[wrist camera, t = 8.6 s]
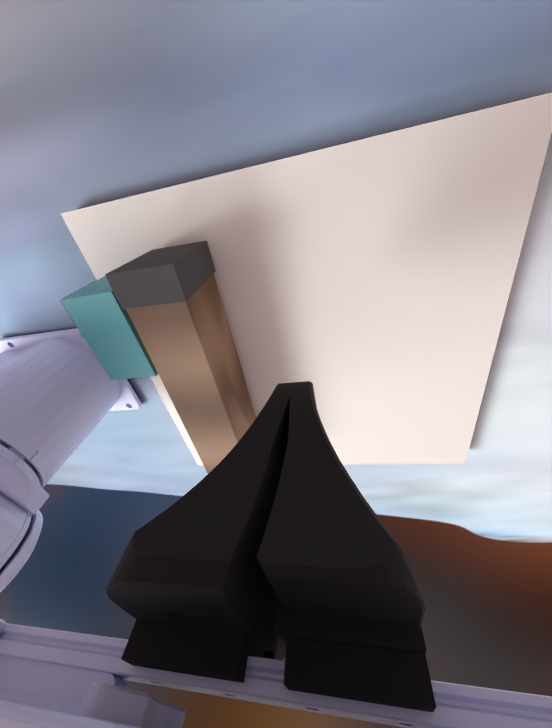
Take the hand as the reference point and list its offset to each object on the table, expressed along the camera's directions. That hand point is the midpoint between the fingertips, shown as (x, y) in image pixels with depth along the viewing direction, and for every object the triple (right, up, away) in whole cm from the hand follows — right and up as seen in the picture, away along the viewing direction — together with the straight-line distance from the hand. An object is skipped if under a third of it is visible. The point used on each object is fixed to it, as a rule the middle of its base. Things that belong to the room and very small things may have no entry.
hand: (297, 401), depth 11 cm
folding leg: (-5, +1, +8) cm, 10 cm away
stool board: (+1, +2, +9) cm, 9 cm away
